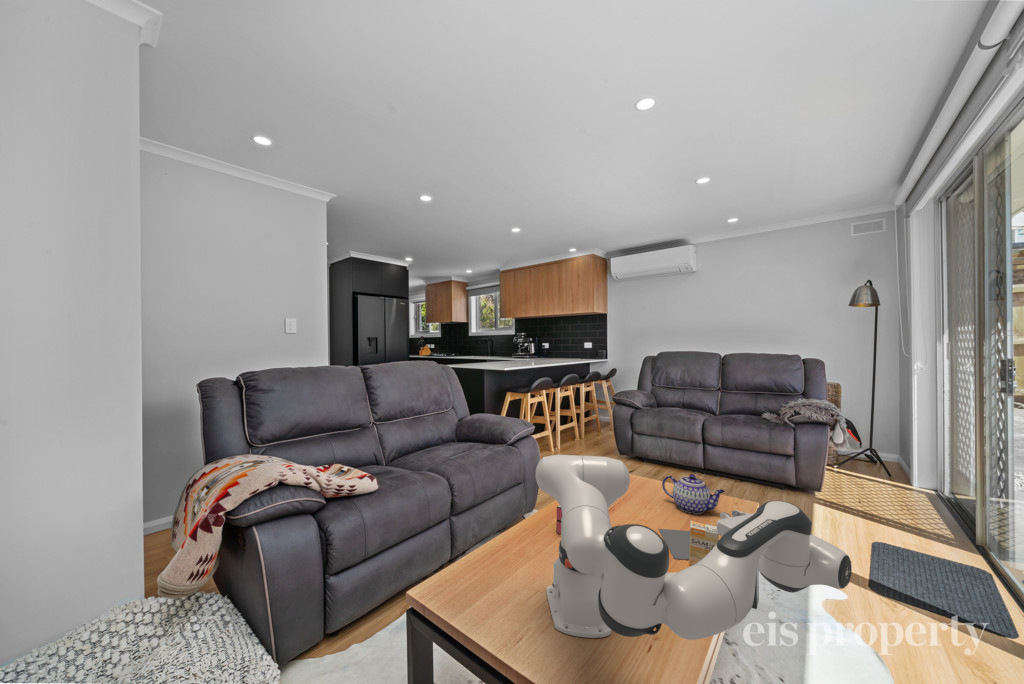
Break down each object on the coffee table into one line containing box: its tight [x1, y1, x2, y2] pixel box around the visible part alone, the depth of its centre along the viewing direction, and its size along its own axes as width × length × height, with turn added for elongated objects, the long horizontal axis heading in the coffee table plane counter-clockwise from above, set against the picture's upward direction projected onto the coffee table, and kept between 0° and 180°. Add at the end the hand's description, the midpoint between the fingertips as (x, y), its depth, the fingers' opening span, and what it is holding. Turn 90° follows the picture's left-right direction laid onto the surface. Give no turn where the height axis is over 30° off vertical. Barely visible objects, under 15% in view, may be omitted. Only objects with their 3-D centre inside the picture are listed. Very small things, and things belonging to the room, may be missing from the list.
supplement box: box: [688, 520, 720, 567], centre depth 122 cm, size 8×5×13 cm, turn 62°
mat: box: [658, 528, 690, 561], centre depth 135 cm, size 20×14×1 cm
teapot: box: [661, 473, 726, 515], centre depth 164 cm, size 25×15×15 cm, turn 46°
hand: (727, 513), depth 111 cm, fingers open, 3 cm apart
